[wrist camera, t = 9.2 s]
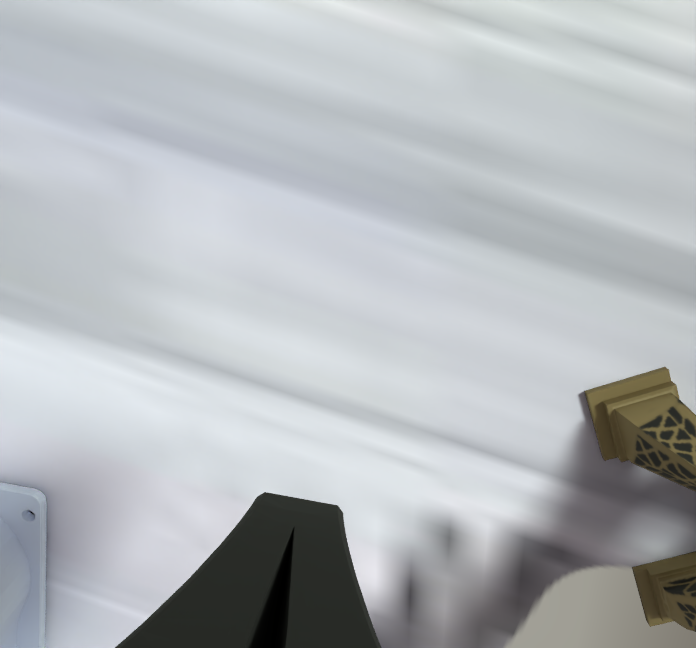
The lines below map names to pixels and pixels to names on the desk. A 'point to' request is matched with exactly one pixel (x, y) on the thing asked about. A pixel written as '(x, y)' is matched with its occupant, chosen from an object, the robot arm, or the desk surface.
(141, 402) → the desk surface
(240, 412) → the desk surface
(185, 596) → the robot arm
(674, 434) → the eiffel tower
